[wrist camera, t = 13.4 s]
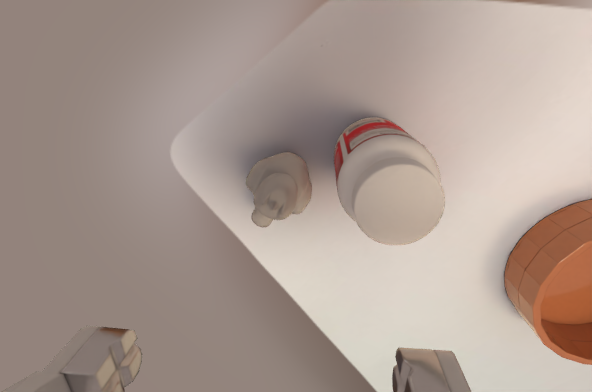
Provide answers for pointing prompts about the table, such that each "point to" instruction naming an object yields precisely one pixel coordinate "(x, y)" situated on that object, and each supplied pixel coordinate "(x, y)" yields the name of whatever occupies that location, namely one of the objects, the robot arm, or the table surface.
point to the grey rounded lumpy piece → (279, 187)
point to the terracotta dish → (556, 281)
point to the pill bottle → (387, 182)
